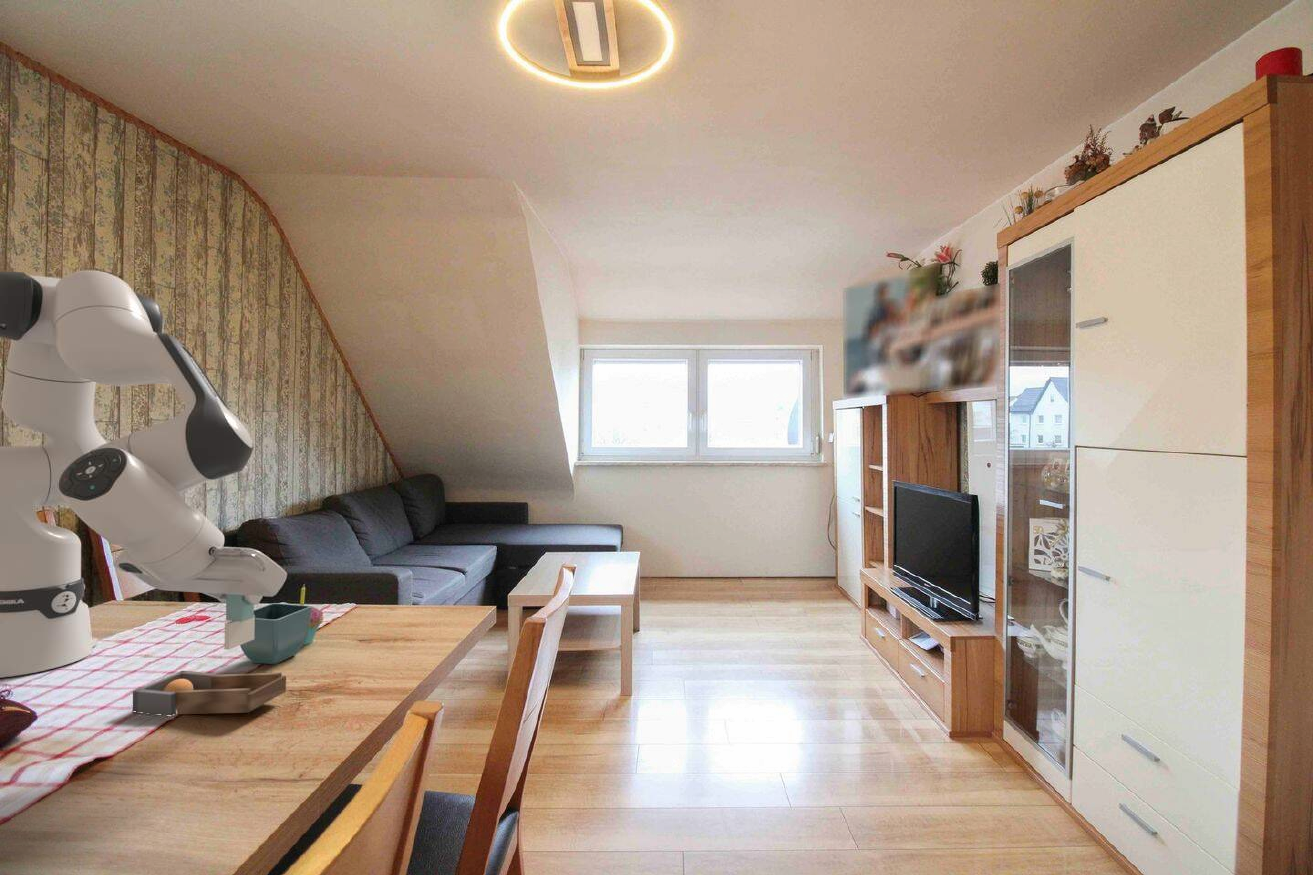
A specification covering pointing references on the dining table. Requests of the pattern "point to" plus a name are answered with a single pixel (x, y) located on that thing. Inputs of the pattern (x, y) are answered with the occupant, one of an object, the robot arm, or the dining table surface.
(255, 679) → the hexagonal shallow dish
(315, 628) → the cupcake
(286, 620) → the flower pot
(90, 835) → the dining table surface
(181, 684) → the ball
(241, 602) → the rectangular block
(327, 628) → the dining table surface
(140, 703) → the grey low frame
